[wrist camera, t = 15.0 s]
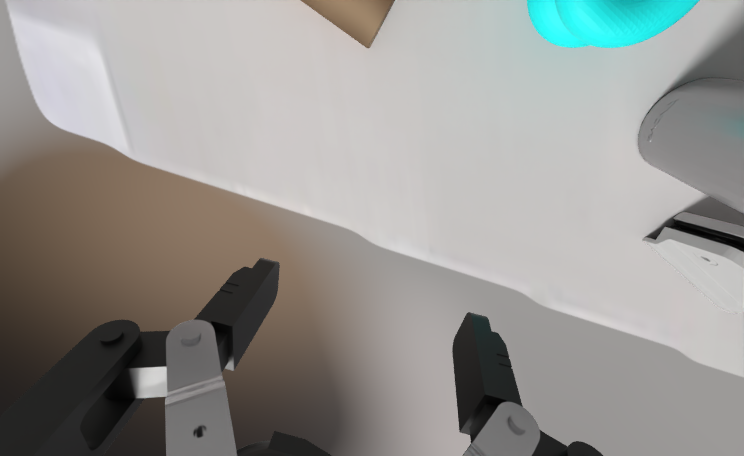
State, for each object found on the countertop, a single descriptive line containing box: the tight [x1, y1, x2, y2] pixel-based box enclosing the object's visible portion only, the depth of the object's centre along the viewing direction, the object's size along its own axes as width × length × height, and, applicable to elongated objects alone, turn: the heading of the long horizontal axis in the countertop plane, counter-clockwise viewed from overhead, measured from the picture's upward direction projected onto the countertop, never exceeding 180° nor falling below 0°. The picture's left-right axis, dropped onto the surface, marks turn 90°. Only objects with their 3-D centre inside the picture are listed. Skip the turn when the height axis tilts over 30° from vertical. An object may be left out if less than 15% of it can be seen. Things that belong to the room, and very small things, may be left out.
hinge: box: [642, 212, 744, 314], centre depth 36 cm, size 17×5×10 cm, turn 53°
